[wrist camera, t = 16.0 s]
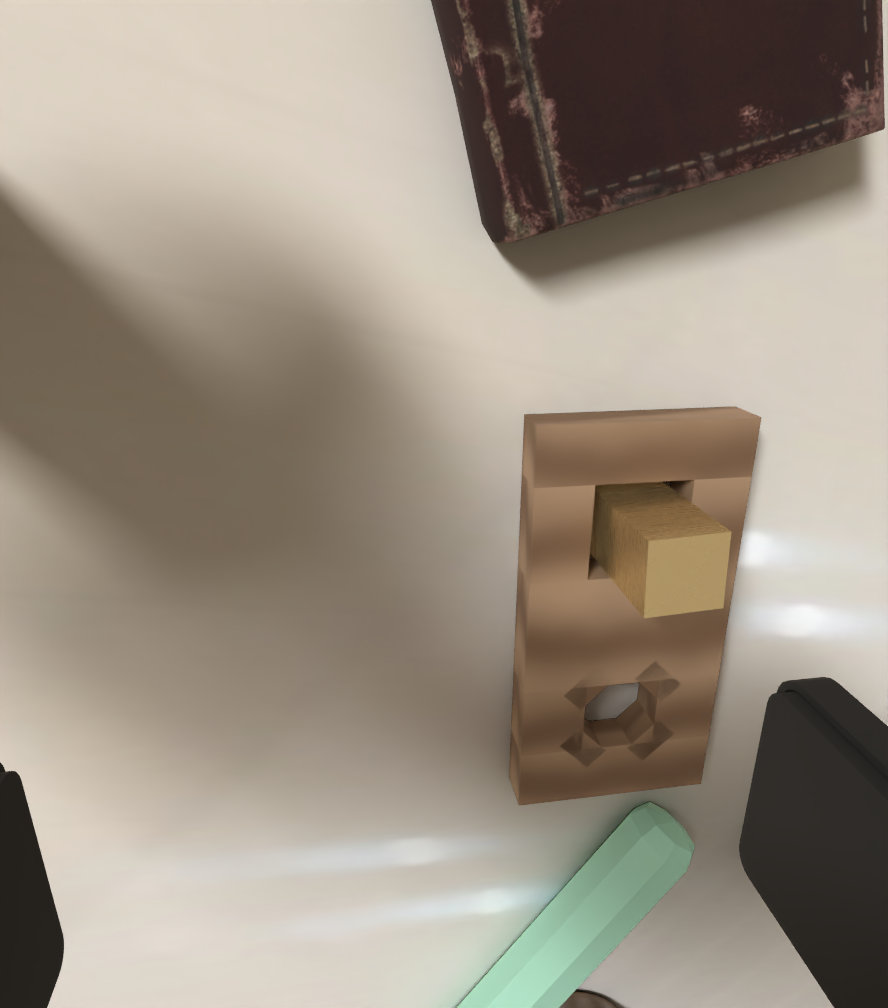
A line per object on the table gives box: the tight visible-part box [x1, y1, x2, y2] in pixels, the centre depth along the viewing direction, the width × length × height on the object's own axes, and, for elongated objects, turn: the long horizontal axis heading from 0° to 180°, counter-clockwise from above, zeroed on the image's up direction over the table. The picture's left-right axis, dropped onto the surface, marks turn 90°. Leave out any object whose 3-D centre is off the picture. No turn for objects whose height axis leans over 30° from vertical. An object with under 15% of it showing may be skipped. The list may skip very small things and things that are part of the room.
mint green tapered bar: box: [456, 802, 695, 1008], centre depth 49 cm, size 6×6×25 cm
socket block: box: [509, 407, 761, 805], centre depth 41 cm, size 24×12×2 cm, turn 0°
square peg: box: [590, 481, 731, 618], centre depth 36 cm, size 4×4×8 cm
